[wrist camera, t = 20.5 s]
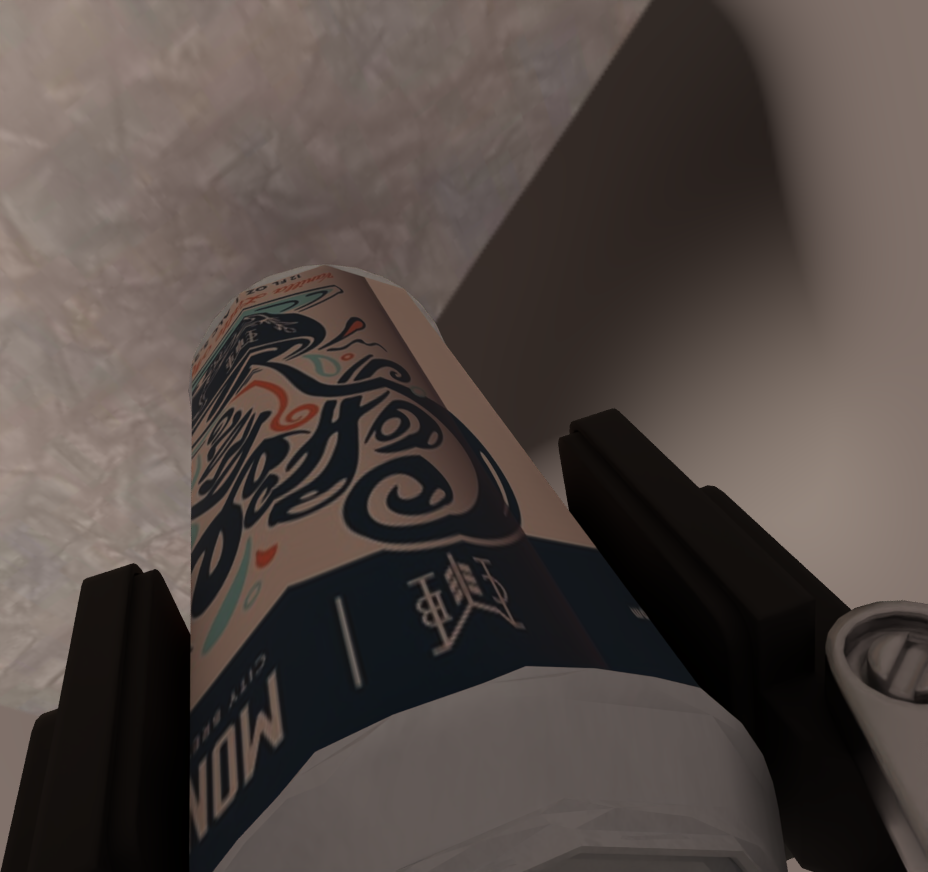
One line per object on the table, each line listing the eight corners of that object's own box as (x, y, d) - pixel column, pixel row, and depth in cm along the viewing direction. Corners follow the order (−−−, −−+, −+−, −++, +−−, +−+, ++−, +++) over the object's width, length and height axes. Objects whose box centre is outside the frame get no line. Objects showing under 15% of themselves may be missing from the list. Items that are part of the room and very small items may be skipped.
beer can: (288, 201, 15) (518, 675, 4) (492, 347, 17) (965, 891, 6) (136, 418, 15) (20, 1243, 5) (349, 530, 18) (564, 1257, 7)
